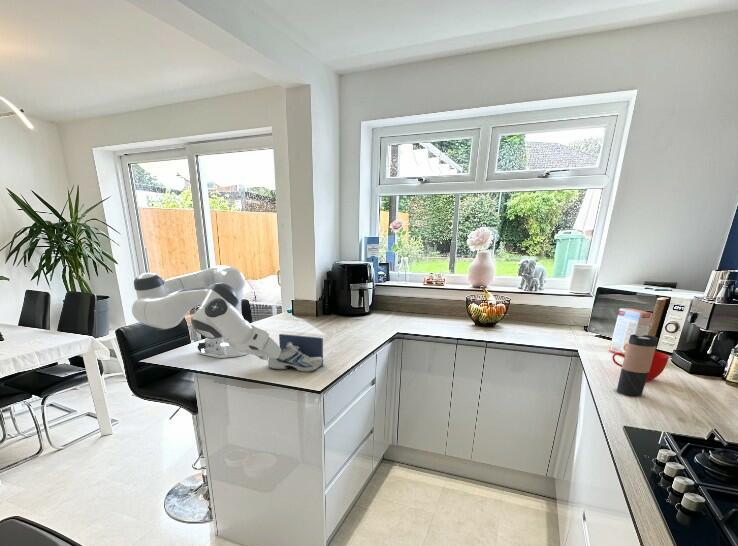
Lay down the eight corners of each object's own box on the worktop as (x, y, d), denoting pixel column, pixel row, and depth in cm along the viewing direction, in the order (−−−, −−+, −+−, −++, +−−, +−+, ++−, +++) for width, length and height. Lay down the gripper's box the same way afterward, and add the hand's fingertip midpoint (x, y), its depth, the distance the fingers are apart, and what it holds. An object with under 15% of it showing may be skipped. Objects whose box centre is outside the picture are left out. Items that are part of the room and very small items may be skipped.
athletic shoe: (323, 371, 157) (322, 341, 156) (265, 372, 158) (264, 342, 156) (324, 370, 167) (323, 341, 166) (269, 370, 168) (269, 342, 166)
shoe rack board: (280, 361, 172) (279, 334, 168) (281, 360, 173) (280, 333, 169) (321, 366, 165) (321, 338, 161) (323, 365, 167) (323, 337, 163)
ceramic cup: (609, 369, 164) (614, 346, 160) (660, 377, 154) (668, 352, 151) (607, 377, 154) (613, 352, 150) (662, 386, 145) (670, 360, 141)
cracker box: (641, 359, 179) (654, 312, 172) (628, 359, 179) (640, 312, 172) (620, 351, 192) (632, 307, 185) (608, 351, 192) (619, 307, 185)
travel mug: (634, 398, 133) (650, 340, 126) (610, 391, 139) (625, 335, 133) (647, 394, 136) (663, 338, 130) (623, 388, 143) (637, 333, 136)
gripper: (217, 340, 135) (239, 361, 146) (263, 348, 125) (283, 370, 137) (225, 325, 137) (247, 346, 149) (271, 332, 127) (290, 354, 139)
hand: (264, 358), depth 142 cm, fingers closed
